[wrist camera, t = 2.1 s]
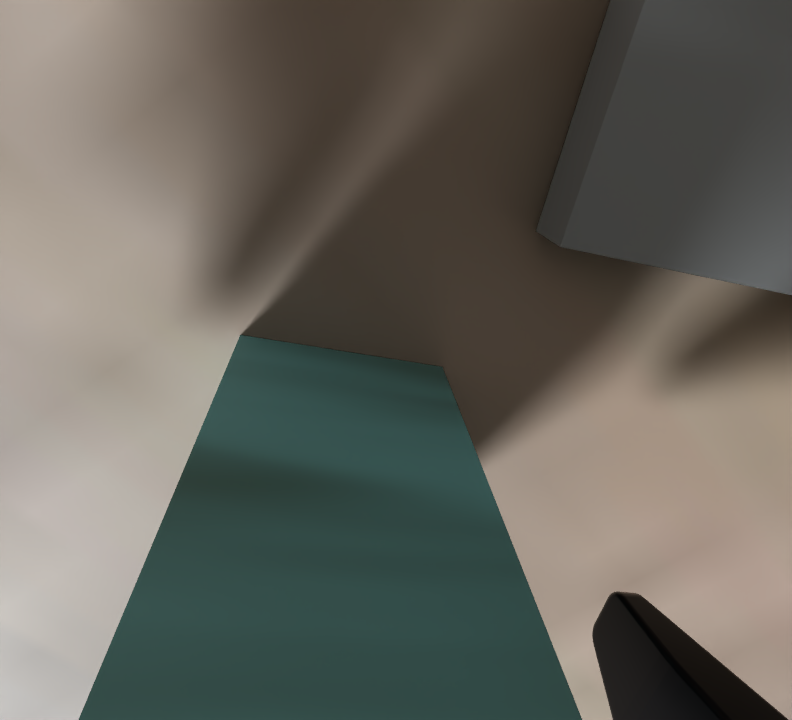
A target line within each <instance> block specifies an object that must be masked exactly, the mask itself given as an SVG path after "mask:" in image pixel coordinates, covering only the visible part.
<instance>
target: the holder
mask: <svg viewBox="0 0 792 720" xmlns="http://www.w3.org/2000/svg"><path fill="white" fill-rule="evenodd" d="M536 232H538V233H539V234H541V235H542V236H544V237H546V238H547V239H549V240H550V241H552V242H553V243H555V244H556V245H558V246H559V247H563V248H568V249H573V250H577V251H582V252H587V253H592V254H597V255H601V256H606V257H611V258H616V259H621V260H625V261H630V262H635V263H640V264H645V265H649V266H654V267H659V268H664V269H669V270H673V271H678V272H683V273H688V274H693V275H697V276H702V277H707V278H712V279H717V280H721V281H726V282H731V283H736V284H741V285H745V286H750V287H755V288H760V289H764V290H769V291H774V292H779V293H784V294H788V295H792V0H610V3H609V6H608V9H607V12H606V15H605V18H604V21H603V25H602V28H601V31H600V34H599V37H598V40H597V43H596V46H595V49H594V52H593V56H592V59H591V62H590V65H589V68H588V71H587V74H586V77H585V80H584V83H583V87H582V90H581V93H580V96H579V99H578V102H577V105H576V108H575V111H574V114H573V117H572V121H571V124H570V127H569V130H568V133H567V136H566V139H565V142H564V145H563V148H562V152H561V155H560V158H559V161H558V164H557V167H556V170H555V173H554V176H553V179H552V183H551V186H550V189H549V192H548V195H547V198H546V201H545V204H544V207H543V210H542V214H541V217H540V220H539V223H538V226H537V229H536Z"/></svg>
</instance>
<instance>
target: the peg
mask: <svg viewBox="0 0 792 720" xmlns="http://www.w3.org/2000/svg"><path fill="white" fill-rule="evenodd" d="M79 720H582V718H581V716H580V713H579V711H578V708H577V706H576V703H575V701H574V698H573V695H572V693H571V690H570V688H569V685H568V683H567V680H566V678H565V675H564V673H563V670H562V668H561V665H560V663H559V660H558V658H557V655H556V653H555V650H554V648H553V645H552V642H551V640H550V637H549V635H548V632H547V630H546V627H545V625H544V622H543V620H542V617H541V615H540V612H539V610H538V607H537V605H536V602H535V600H534V597H533V595H532V592H531V589H530V587H529V584H528V582H527V579H526V577H525V574H524V572H523V569H522V567H521V564H520V562H519V559H518V557H517V554H516V552H515V549H514V547H513V544H512V542H511V539H510V536H509V534H508V531H507V529H506V526H505V524H504V521H503V519H502V516H501V514H500V511H499V509H498V506H497V504H496V501H495V499H494V496H493V494H492V491H491V489H490V486H489V484H488V481H487V478H486V476H485V473H484V471H483V468H482V466H481V463H480V461H479V458H478V456H477V453H476V451H475V448H474V446H473V443H472V441H471V438H470V436H469V433H468V431H467V428H466V425H465V423H464V420H463V418H462V415H461V413H460V410H459V408H458V405H457V403H456V400H455V398H454V395H453V393H452V390H451V388H450V385H449V383H448V380H447V378H446V375H445V372H444V370H443V367H440V366H434V365H427V364H421V363H415V362H408V361H402V360H396V359H389V358H383V357H377V356H371V355H364V354H358V353H352V352H345V351H339V350H333V349H326V348H320V347H314V346H307V345H301V344H295V343H288V342H282V341H276V340H269V339H263V338H257V337H250V336H244V335H240V337H239V340H238V342H237V344H236V347H235V349H234V352H233V354H232V356H231V359H230V361H229V363H228V366H227V368H226V371H225V373H224V375H223V378H222V380H221V382H220V385H219V387H218V390H217V392H216V394H215V397H214V399H213V401H212V404H211V406H210V409H209V411H208V413H207V416H206V418H205V420H204V423H203V425H202V428H201V430H200V432H199V435H198V437H197V439H196V442H195V444H194V447H193V449H192V451H191V454H190V456H189V459H188V461H187V463H186V466H185V468H184V470H183V473H182V475H181V478H180V480H179V482H178V485H177V487H176V489H175V492H174V494H173V497H172V499H171V501H170V504H169V506H168V508H167V511H166V513H165V516H164V518H163V520H162V523H161V525H160V527H159V530H158V532H157V535H156V537H155V539H154V542H153V544H152V547H151V549H150V551H149V554H148V556H147V558H146V561H145V563H144V566H143V568H142V570H141V573H140V575H139V577H138V580H137V582H136V585H135V587H134V589H133V592H132V594H131V596H130V599H129V601H128V604H127V606H126V608H125V611H124V613H123V615H122V618H121V620H120V623H119V625H118V627H117V630H116V632H115V634H114V637H113V639H112V642H111V644H110V646H109V649H108V651H107V654H106V656H105V658H104V661H103V663H102V665H101V668H100V670H99V673H98V675H97V677H96V680H95V682H94V684H93V687H92V689H91V692H90V694H89V696H88V699H87V701H86V703H85V706H84V708H83V711H82V713H81V715H80V718H79Z"/></svg>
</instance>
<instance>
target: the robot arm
mask: <svg viewBox="0 0 792 720" xmlns="http://www.w3.org/2000/svg"><path fill="white" fill-rule="evenodd" d="M593 643H594V647H595V651H596V655H597V659H598V663H599V667H600V671H601V675H602V679H603V683H604V686H605V690H606V694H607V698H608V702H609V706H610V710H611V714H612V718H613V720H788V719H787V718H786V717H785V716H783V715H782V714H781V713H780V712H779V711H778V710H776V709H775V708H774V707H773V706H772V705H770V704H769V703H768V702H767V701H766V700H764V699H763V698H762V697H761V696H760V695H759V694H757V693H756V692H755V691H754V690H753V689H751V688H750V687H749V686H748V685H747V684H745V683H744V682H743V681H742V680H741V679H740V678H738V677H737V676H736V675H735V674H734V673H732V672H731V671H730V670H729V669H728V668H727V667H725V666H724V665H723V664H722V663H721V662H719V661H718V660H717V659H716V658H715V657H713V656H712V655H711V654H710V653H709V652H708V651H706V650H705V649H704V648H703V647H702V646H700V645H699V644H698V643H697V642H696V641H695V640H693V639H692V638H691V637H690V636H689V635H687V634H686V633H685V632H684V631H683V630H681V629H680V628H679V627H678V626H677V625H676V624H674V623H673V622H672V621H671V620H670V619H668V618H667V617H666V616H665V615H664V614H662V613H661V612H660V611H659V610H658V609H657V608H655V607H654V606H653V605H652V604H651V603H649V602H648V601H647V600H646V599H645V598H643V597H642V596H641V595H639V594H636V593H628V592H614V593H612V594H611V595H610V596H609V597H608V599H607V601H606V603H605V605H604V607H603V609H602V611H601V613H600V614H599V616H598V618H597V620H596V622H595V624H594V627H593Z"/></svg>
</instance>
